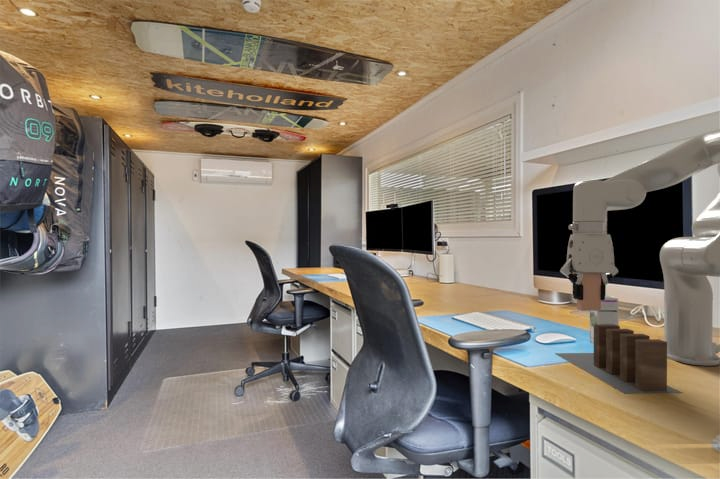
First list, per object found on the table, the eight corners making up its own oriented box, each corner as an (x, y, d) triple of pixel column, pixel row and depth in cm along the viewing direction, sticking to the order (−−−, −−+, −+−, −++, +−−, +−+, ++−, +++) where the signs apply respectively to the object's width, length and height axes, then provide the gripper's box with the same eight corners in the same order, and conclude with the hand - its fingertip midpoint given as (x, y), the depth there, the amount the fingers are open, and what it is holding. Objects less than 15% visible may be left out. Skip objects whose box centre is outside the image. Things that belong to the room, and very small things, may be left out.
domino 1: (600, 310, 96) (601, 271, 96) (581, 310, 96) (581, 271, 96) (595, 309, 98) (596, 270, 98) (576, 309, 98) (577, 270, 98)
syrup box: (619, 349, 106) (619, 297, 106) (596, 347, 108) (596, 297, 107) (610, 343, 112) (610, 294, 112) (588, 342, 113) (588, 294, 113)
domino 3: (606, 371, 87) (606, 328, 87) (627, 371, 88) (627, 328, 87) (612, 374, 85) (612, 331, 85) (633, 374, 86) (633, 330, 85)
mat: (598, 354, 102) (598, 352, 102) (683, 394, 76) (683, 392, 76) (554, 354, 101) (554, 353, 101) (624, 395, 75) (624, 393, 75)
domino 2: (593, 365, 92) (593, 324, 92) (613, 364, 92) (613, 324, 92) (599, 368, 90) (599, 326, 90) (619, 367, 90) (619, 326, 90)
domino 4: (619, 379, 83) (620, 333, 83) (642, 378, 83) (642, 333, 83) (626, 382, 81) (626, 336, 81) (649, 382, 81) (649, 336, 81)
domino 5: (635, 387, 78) (635, 339, 78) (658, 387, 79) (659, 339, 78) (642, 391, 76) (642, 342, 76) (666, 390, 77) (667, 342, 76)
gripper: (565, 228, 93) (564, 301, 93) (632, 228, 94) (631, 301, 94) (549, 229, 101) (548, 297, 101) (611, 229, 101) (611, 297, 101)
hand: (588, 298), depth 97 cm, fingers closed on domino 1, 4 cm apart
